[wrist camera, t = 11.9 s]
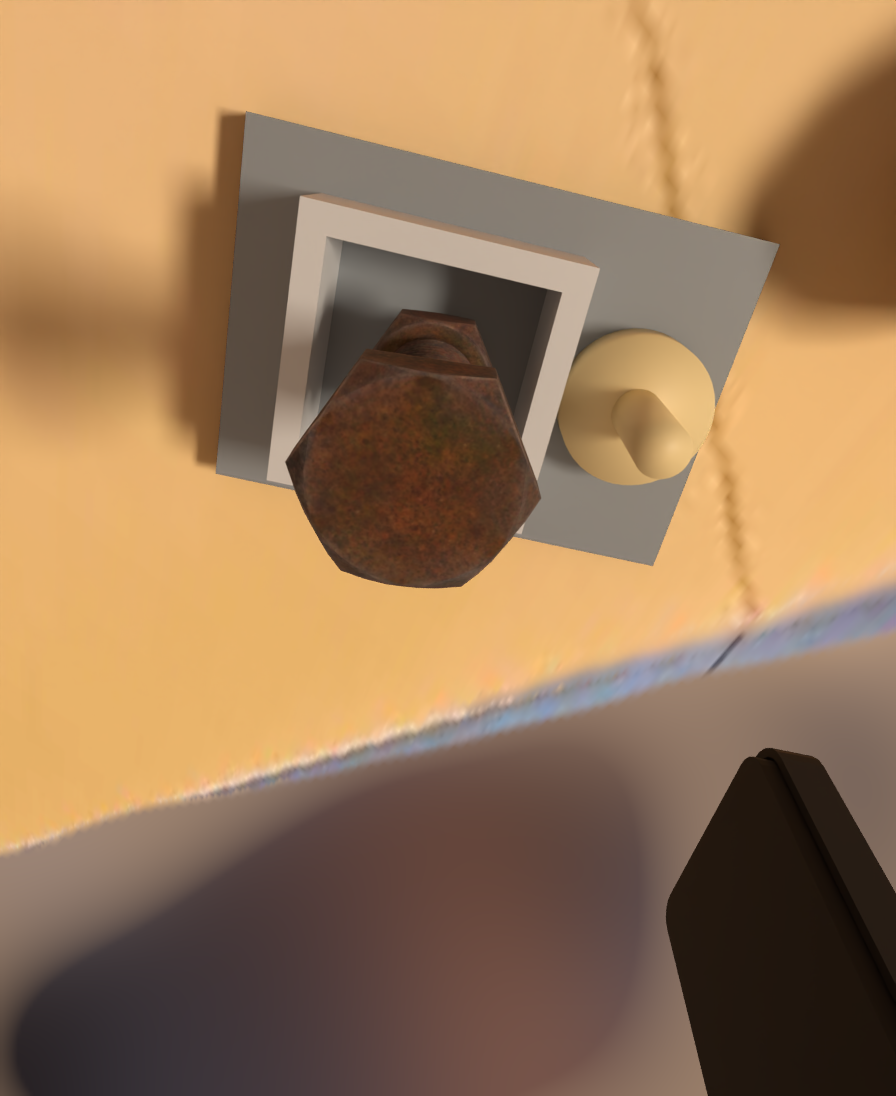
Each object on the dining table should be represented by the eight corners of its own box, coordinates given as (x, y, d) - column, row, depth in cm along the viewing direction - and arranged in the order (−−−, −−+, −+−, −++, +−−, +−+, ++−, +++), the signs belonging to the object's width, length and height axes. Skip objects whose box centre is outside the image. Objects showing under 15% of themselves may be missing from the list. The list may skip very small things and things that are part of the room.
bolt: (428, 252, 28) (400, 303, 15) (528, 337, 29) (588, 456, 16) (340, 373, 30) (245, 516, 17) (438, 447, 31) (423, 636, 18)
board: (768, 241, 29) (854, 261, 22) (647, 553, 35) (687, 639, 29) (254, 113, 27) (188, 95, 21) (223, 463, 33) (165, 532, 27)
